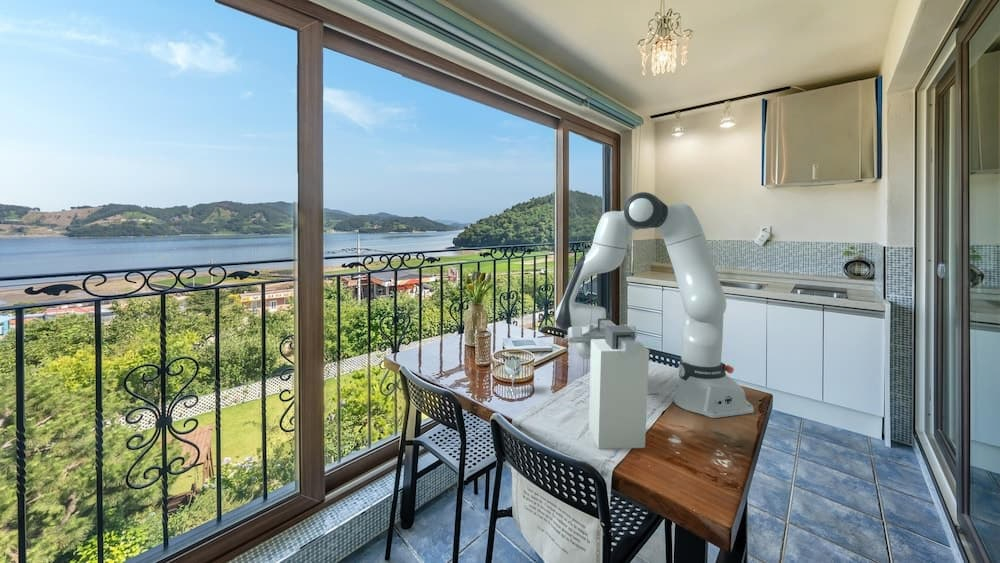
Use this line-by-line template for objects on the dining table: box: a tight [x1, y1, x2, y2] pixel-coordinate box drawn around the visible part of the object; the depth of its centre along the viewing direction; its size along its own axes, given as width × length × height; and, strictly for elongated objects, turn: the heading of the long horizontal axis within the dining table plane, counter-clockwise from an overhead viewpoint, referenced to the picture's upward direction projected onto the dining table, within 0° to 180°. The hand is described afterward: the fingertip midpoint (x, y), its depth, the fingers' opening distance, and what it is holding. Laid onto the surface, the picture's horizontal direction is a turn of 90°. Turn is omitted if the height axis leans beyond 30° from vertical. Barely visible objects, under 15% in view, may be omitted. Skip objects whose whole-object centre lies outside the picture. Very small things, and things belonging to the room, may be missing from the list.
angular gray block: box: [598, 319, 638, 356], centre depth 105 cm, size 3×24×3 cm, turn 1°
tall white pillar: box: [588, 325, 650, 450], centre depth 104 cm, size 12×10×30 cm
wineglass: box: [503, 355, 522, 395], centre depth 135 cm, size 6×6×12 cm
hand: (607, 327), depth 112 cm, fingers open, 8 cm apart
